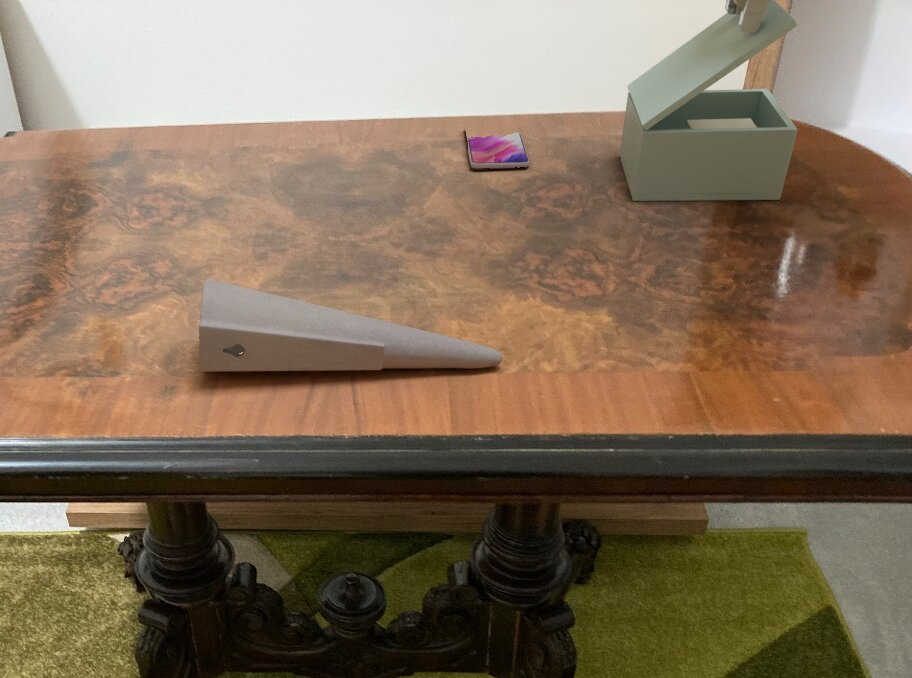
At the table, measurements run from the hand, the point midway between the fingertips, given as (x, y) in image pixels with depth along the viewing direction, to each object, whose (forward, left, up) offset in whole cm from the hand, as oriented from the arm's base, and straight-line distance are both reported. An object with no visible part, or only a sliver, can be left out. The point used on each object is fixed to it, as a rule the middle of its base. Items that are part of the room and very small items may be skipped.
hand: (740, 21), depth 97 cm
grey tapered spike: (+38, +40, -17) cm, 58 cm away
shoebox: (+2, 0, -17) cm, 17 cm away
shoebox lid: (+3, 0, -4) cm, 5 cm away
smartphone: (+25, -10, -17) cm, 32 cm away
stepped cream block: (+1, 0, -16) cm, 16 cm away
